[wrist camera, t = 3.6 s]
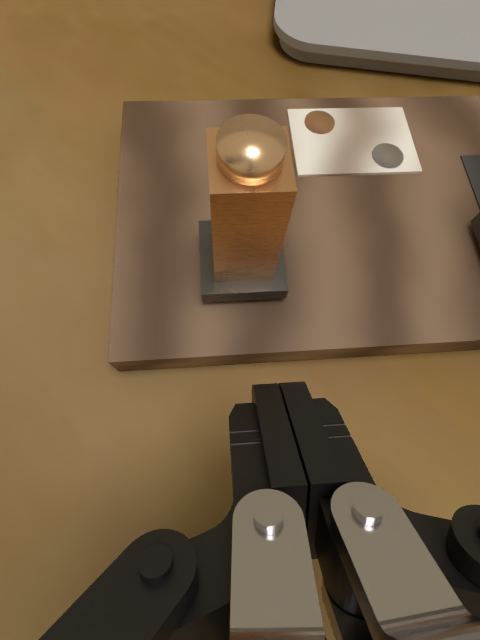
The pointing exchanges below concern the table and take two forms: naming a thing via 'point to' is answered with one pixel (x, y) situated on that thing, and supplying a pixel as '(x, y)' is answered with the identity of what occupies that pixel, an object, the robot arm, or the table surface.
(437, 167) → the switch board
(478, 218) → the grey switch
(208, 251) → the copper switch
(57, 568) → the table surface
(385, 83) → the table surface
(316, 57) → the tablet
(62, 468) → the table surface
